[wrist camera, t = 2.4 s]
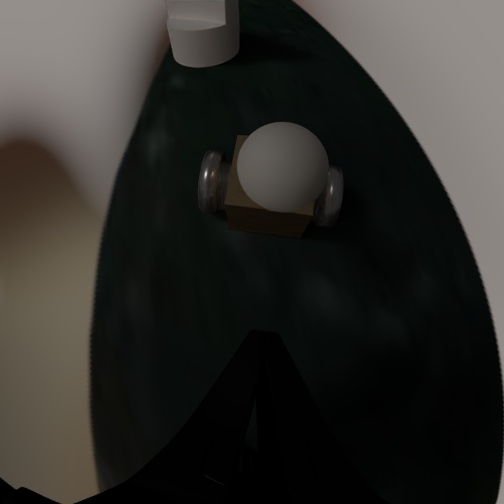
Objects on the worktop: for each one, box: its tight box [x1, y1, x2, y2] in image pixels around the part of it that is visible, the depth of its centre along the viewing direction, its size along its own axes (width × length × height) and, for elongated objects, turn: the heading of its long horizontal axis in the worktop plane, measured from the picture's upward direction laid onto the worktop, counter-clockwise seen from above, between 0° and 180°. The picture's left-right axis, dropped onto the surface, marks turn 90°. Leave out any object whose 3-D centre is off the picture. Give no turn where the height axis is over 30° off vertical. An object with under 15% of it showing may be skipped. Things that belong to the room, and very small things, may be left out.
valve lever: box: [237, 122, 329, 212], centre depth 13 cm, size 3×3×12 cm
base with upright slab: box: [165, 0, 240, 67], centre depth 25 cm, size 9×9×12 cm
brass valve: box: [198, 135, 343, 238], centre depth 21 cm, size 6×10×8 cm, turn 83°
